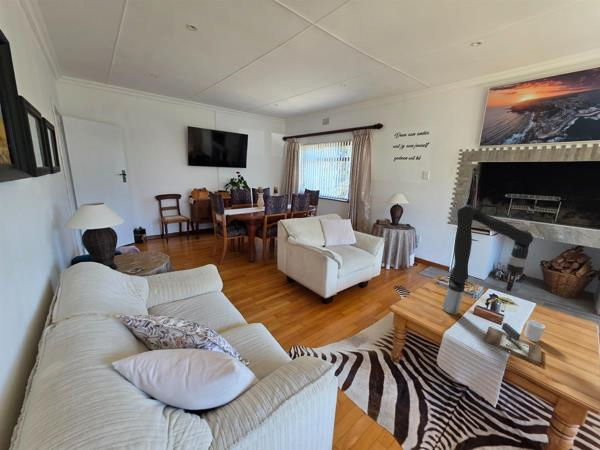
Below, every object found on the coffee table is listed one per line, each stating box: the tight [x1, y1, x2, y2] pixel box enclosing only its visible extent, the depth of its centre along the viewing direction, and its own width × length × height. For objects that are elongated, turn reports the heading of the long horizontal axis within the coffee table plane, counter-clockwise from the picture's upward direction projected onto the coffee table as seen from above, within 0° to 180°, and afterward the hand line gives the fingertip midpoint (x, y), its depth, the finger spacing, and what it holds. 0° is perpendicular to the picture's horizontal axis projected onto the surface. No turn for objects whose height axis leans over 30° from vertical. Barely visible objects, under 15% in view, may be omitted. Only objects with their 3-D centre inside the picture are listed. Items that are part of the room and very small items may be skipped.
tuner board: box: [483, 326, 542, 366], centre depth 140 cm, size 24×16×2 cm, turn 46°
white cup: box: [523, 319, 546, 343], centre depth 146 cm, size 8×8×10 cm
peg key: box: [501, 322, 522, 349], centre depth 140 cm, size 14×2×7 cm, turn 177°
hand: (509, 288), depth 148 cm, fingers open, 8 cm apart
